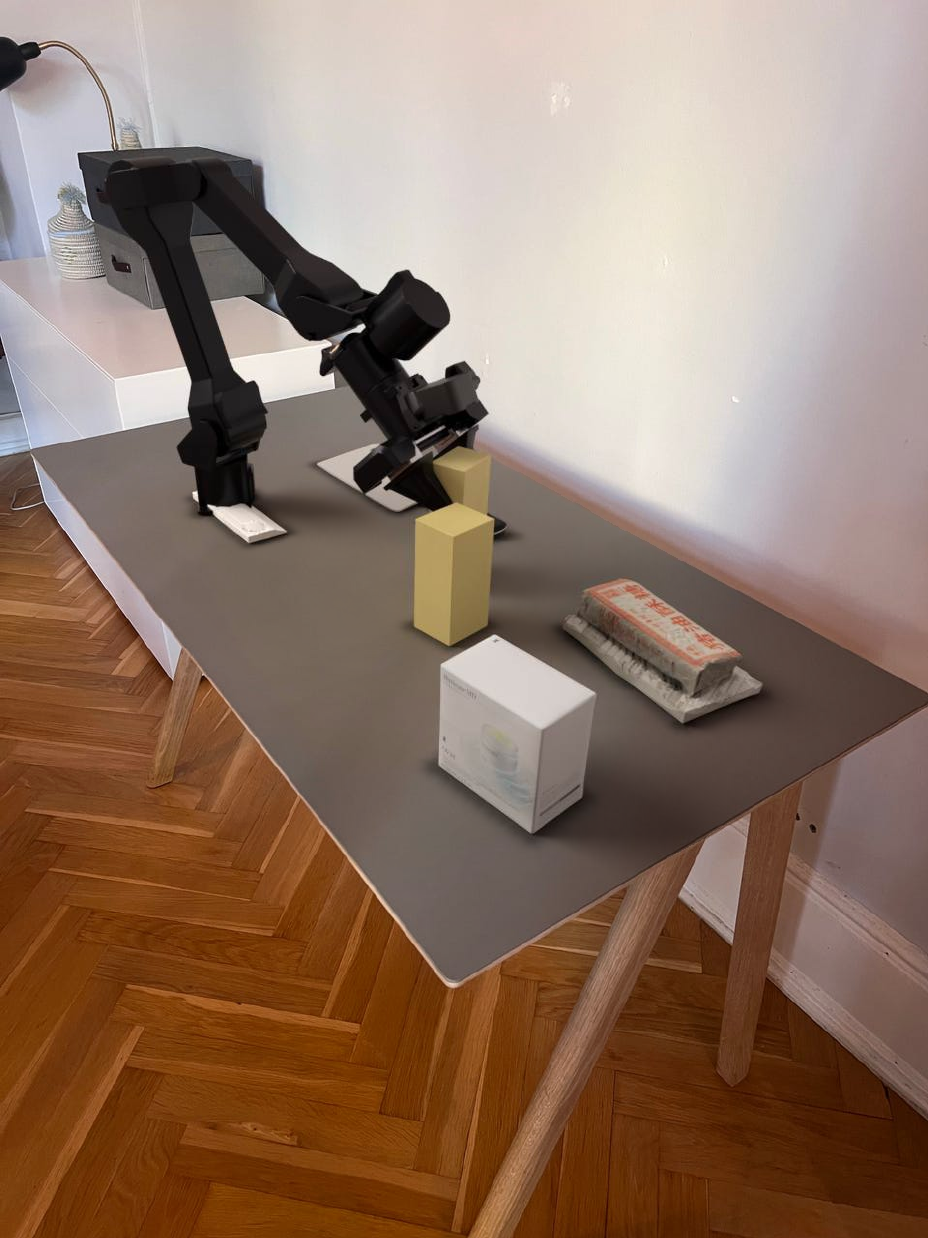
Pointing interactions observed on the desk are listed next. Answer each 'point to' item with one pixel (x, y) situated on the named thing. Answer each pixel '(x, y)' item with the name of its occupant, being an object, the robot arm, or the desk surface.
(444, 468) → the yellow rectangular block
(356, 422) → the desk surface
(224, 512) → the white flat slab
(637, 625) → the packaged product
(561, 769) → the cosmetics box
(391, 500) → the kitchen cleaver
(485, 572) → the butter block
